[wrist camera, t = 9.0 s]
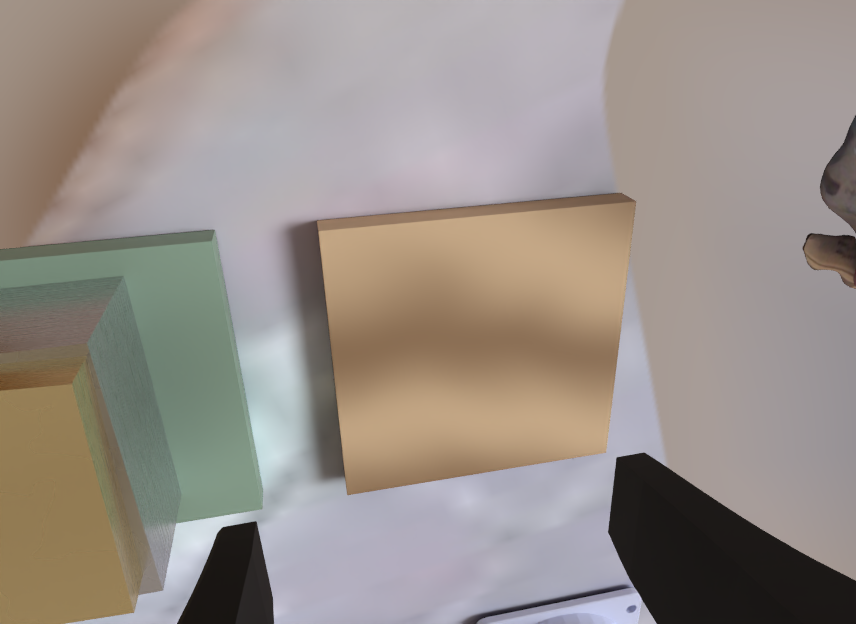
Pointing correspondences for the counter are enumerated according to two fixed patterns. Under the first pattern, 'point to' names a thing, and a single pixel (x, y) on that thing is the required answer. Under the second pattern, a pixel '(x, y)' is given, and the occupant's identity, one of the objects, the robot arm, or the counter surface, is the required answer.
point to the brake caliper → (851, 200)
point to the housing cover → (60, 500)
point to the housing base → (106, 395)
